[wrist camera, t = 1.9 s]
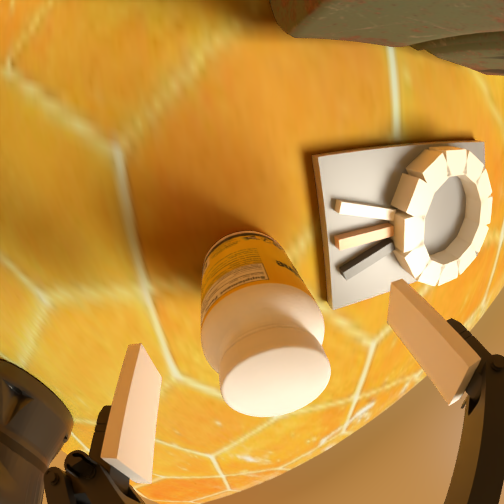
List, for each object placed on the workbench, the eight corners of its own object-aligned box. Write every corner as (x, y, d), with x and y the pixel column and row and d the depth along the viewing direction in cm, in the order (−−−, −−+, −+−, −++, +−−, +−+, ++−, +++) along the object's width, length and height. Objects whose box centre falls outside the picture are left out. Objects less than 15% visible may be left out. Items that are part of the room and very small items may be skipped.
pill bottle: (296, 284, 22) (356, 394, 12) (223, 314, 22) (239, 437, 12) (270, 213, 19) (335, 305, 9) (187, 249, 19) (171, 368, 9)
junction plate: (327, 302, 23) (342, 324, 20) (311, 155, 18) (330, 160, 15) (470, 251, 24) (489, 263, 21) (475, 140, 19) (499, 145, 16)
